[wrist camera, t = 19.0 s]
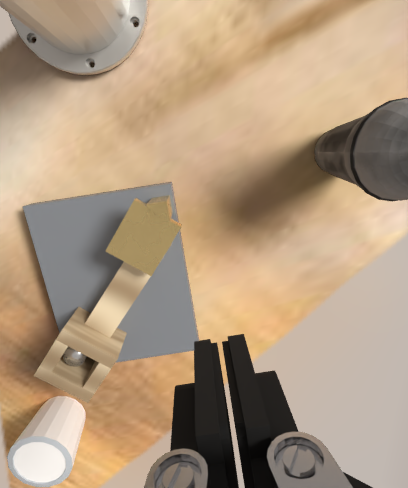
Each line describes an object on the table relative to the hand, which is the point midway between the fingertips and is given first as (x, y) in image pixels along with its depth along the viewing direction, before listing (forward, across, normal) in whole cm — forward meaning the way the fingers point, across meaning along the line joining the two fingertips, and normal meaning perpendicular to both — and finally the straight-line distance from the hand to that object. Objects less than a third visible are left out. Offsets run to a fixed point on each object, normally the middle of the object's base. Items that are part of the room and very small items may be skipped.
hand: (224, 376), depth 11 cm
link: (+25, +10, +7) cm, 28 cm away
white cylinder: (+27, +21, +22) cm, 41 cm away
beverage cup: (+27, -15, -5) cm, 32 cm away
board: (+27, +10, +5) cm, 29 cm away
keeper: (+27, +6, 0) cm, 28 cm away
